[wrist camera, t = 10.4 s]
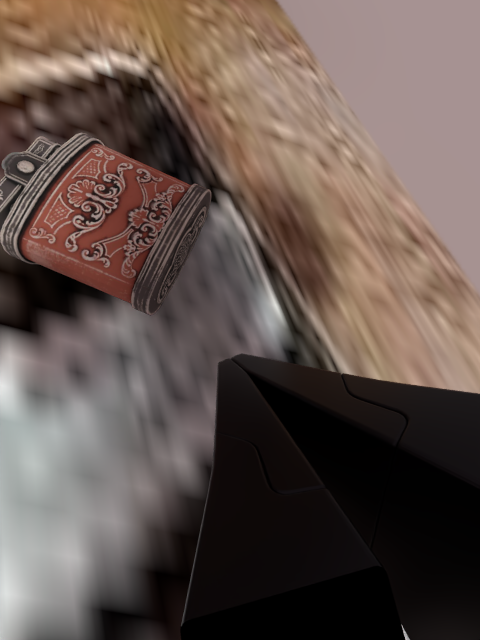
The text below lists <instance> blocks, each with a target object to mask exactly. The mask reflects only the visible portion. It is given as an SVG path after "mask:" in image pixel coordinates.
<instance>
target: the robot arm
mask: <svg viewBox="0 0 480 640" xmlns="http://www.w3.org/2000/svg"><path fill="white" fill-rule="evenodd" d="M401 624H402V626H403V628H404V630H405V631H406V633H407V635H408V637H409V639H410V640H480V394H478V393H470V392H462V391H455V390H447V389H440V388H432V387H425V386H417V385H410V384H403V383H396V382H389V381H382V380H376V379H371V378H365V377H360V376H354V375H349V374H344V373H343V374H342V375H341V374H340V373H337V372H332V371H327V370H322V369H317V368H312V367H307V366H302V365H297V364H292V363H287V362H282V361H277V360H272V359H267V358H262V357H257V356H252V355H247V354H239V355H237V356H234V357H232V358H231V359H226V360H224V361H221V362H219V363H218V373H217V396H216V419H215V435H214V452H213V463H212V471H211V477H210V483H209V489H208V494H207V499H206V504H205V509H204V514H203V519H202V524H201V529H200V534H199V539H198V544H197V549H196V554H195V559H194V564H193V569H192V574H191V579H190V584H189V589H188V594H187V599H186V604H185V609H184V614H183V619H182V624H181V639H182V640H405V637H404V633H403V629H402V626H401Z"/></svg>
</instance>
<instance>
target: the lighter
mask: <svg viewBox="0 0 480 640" xmlns="http://www.w3.org/2000/svg"><path fill="white" fill-rule="evenodd" d="M2 168H3V169H4V170H5V176H4V177H3V178H2V180H1V181H0V239H1V244H2V246H3V248H4V250H5V251H6V252H7V253H8V254H9V255H10V256H13V257H15V258H17V259H19V260H22V261H24V262H26V263H29V264H40V265H42V266H44V267H47V268H49V269H51V270H54V271H56V272H58V273H61V274H63V275H65V276H68V277H70V278H73V279H75V280H77V281H80V282H82V283H84V284H87V285H89V286H91V287H94V288H96V289H98V290H101V291H103V292H105V293H108V294H110V295H112V296H115V297H117V298H120V299H122V300H124V301H127V302H129V303H131V304H132V307H133V308H135V309H137V310H139V311H142V312H144V313H146V314H149V315H153V314H154V313H155V312H156V311H157V310H158V309H159V307H160V306H161V304H162V302H163V301H164V299H165V297H166V296H167V294H168V292H169V291H170V289H171V287H172V286H173V284H174V282H175V280H176V278H177V276H178V275H179V273H180V271H181V269H182V267H183V265H184V264H185V262H186V260H187V258H188V256H189V254H190V252H191V249H192V247H193V245H194V243H195V241H196V239H197V237H198V235H199V233H200V230H201V228H202V226H203V224H204V222H205V219H206V217H207V214H208V211H209V207H210V202H211V191H210V190H209V189H206V188H204V187H202V186H200V185H198V184H193V185H192V186H191V185H189V184H187V183H185V182H183V181H180V180H178V179H176V178H174V177H172V176H169V175H167V174H165V173H163V172H161V171H158V170H156V169H154V168H152V167H149V166H147V165H145V164H143V163H141V162H138V161H136V160H134V159H132V158H130V157H127V156H125V155H123V154H121V153H119V152H116V151H114V150H112V149H110V148H108V147H105V146H104V144H103V143H102V142H101V141H100V140H99V139H96V138H94V137H92V136H90V135H88V134H84V133H79V134H76V135H75V136H74V137H72V138H71V139H70V140H69V141H67V142H66V143H65V144H64V145H62V146H61V145H60V144H58V143H56V142H53V141H51V140H49V139H47V138H44V137H39V138H37V139H36V140H35V142H34V143H33V144H32V145H31V146H30V147H29V148H28V150H27V151H24V152H20V153H19V152H15V153H11V154H9V155H7V156H6V157H5V159H4V160H3V161H2Z"/></svg>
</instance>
